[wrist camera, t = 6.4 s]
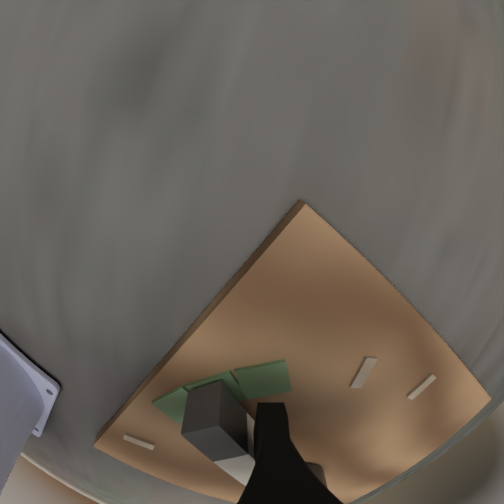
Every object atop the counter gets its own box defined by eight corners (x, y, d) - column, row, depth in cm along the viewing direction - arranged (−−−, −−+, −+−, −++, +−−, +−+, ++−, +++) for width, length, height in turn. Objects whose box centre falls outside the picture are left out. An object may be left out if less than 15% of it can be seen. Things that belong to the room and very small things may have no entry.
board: (319, 507, 19) (320, 516, 18) (96, 435, 14) (91, 448, 13) (485, 391, 15) (492, 400, 14) (299, 199, 10) (307, 205, 9)
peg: (330, 477, 15) (338, 511, 12) (276, 492, 15) (280, 525, 12) (248, 367, 11) (251, 425, 8) (166, 394, 11) (153, 446, 8)
